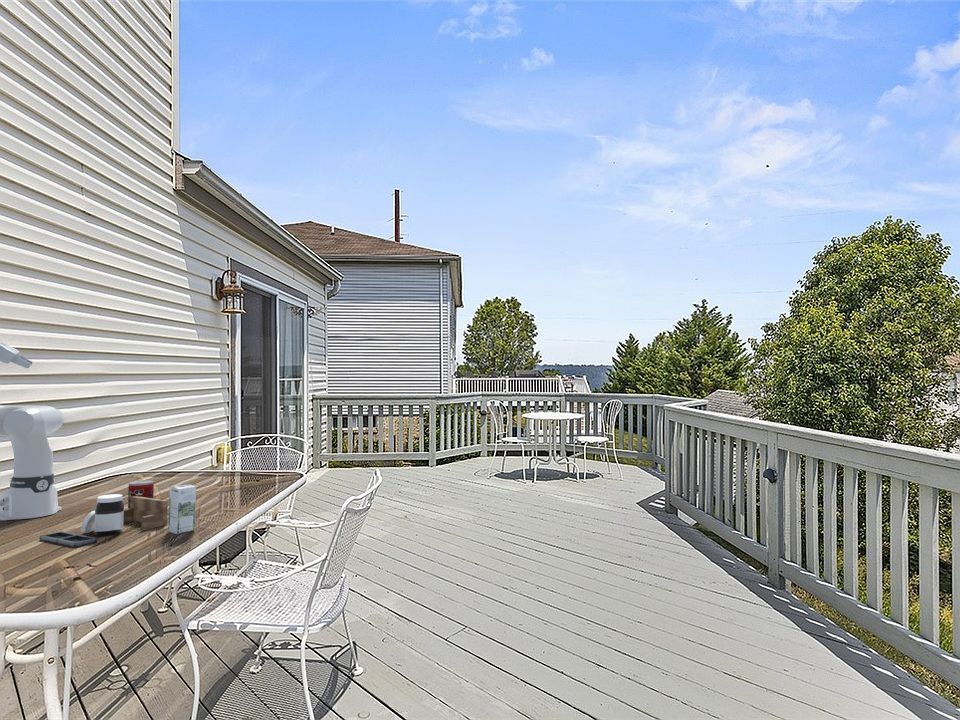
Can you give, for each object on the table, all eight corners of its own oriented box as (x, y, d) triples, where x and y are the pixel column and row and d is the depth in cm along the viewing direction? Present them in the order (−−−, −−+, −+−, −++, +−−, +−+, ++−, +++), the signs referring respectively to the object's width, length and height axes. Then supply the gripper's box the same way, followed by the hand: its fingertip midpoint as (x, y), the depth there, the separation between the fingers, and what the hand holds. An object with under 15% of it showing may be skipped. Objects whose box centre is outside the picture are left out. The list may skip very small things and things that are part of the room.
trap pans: (39, 539, 169) (39, 535, 169) (61, 535, 175) (61, 531, 175) (75, 547, 162) (75, 543, 162) (97, 542, 167) (97, 538, 167)
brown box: (111, 524, 188) (111, 500, 188) (134, 519, 195) (134, 496, 196) (144, 530, 181) (144, 505, 181) (166, 524, 188) (167, 500, 189)
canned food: (123, 512, 204) (124, 482, 205) (145, 508, 211) (145, 479, 212) (135, 515, 201) (136, 484, 201) (157, 510, 208) (158, 481, 208)
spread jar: (122, 535, 175) (123, 497, 175) (78, 540, 169) (79, 501, 170) (124, 526, 185) (125, 491, 186) (82, 531, 180) (84, 494, 180)
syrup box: (185, 528, 183) (187, 483, 184) (195, 531, 180) (196, 485, 181) (167, 532, 179) (169, 486, 179) (177, 535, 175) (178, 488, 176)
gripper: (-22, 348, 176) (25, 371, 184) (-31, 351, 160) (21, 376, 167) (-8, 332, 178) (38, 355, 185) (-16, 333, 162) (36, 358, 169)
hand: (30, 365), depth 176 cm, fingers open, 8 cm apart
